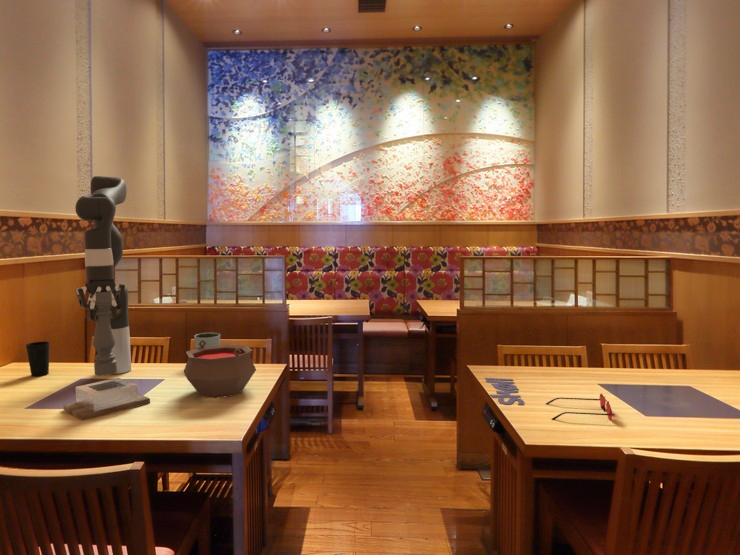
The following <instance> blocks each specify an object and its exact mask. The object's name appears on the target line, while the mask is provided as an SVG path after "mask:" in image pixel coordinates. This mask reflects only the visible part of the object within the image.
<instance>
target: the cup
mask: <svg viewBox="0 0 740 555" xmlns="http://www.w3.org/2000/svg"><path fill="white" fill-rule="evenodd" d="M25 348H26V352H27V358H28V364H29V369H30V374H31V377H33V378H37V377H44V376H45V377H46V376H48V375H49V374H50V373H49V372H50V371H49V370H50V348H51V347H50V341H34V342H29V343H26V344H25ZM47 374H48V375H47Z"/></svg>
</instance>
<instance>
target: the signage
mask: <svg viewBox="0 0 740 555" xmlns="http://www.w3.org/2000/svg"><path fill="white" fill-rule="evenodd" d="M484 379H485V383H487V384H491V386H493V388H494V389H495V392H496V394H489V396H490V397H491V398H492V399H495V398H498V399H497V402H498V403H499V404H500V405H504V406H505V405H506V406H510V405H513V404H514V403H515V402H518V403H517V406H525V401H524V400H523V399H522V396H521V395H520V394H519V393H520V392H519V390H520V389H519V388H518V386H517V385H515V382H514V379H512V378H495V377H494V378H493V377H484ZM514 394H515V395H514ZM516 394H519V395H516ZM505 399H508V400H507V401H505Z"/></svg>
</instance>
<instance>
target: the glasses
mask: <svg viewBox="0 0 740 555" xmlns="http://www.w3.org/2000/svg"><path fill="white" fill-rule="evenodd" d="M557 400H578V401H579V400H580V401H582V400H583V401H599V404H600V409H601V410H602V411H603V412H604V413H595V412H575V411H573V412H572V411H571V412H570V411H565V412H562V413H561V412H560V413H559V414H557V415H556V416H554V417H552V418H551V420H552V421H555V420H556V419H557V418H559V417H561V416H563V415H565V414H571V415H572V414H575V415H591V416H592V415H593V416H594V415H596V416H607V418H608V420H609V421H610V420H612V419H613V417H615V416H616V414H615V413H613V410H612V407H611V404H610V401H608V400H607V399H606V397H605V396H604V394H603V393H600V394H599V398H583V397H582V398H580V397H578V398H577V397H556V398H555V397H554V399H550V400H549V401H548V402H545V405H549V404H551V403H553V402H554V401H557ZM605 412H607V413H605Z"/></svg>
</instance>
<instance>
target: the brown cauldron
mask: <svg viewBox="0 0 740 555" xmlns="http://www.w3.org/2000/svg"><path fill="white" fill-rule="evenodd" d="M202 342H203V343H204V344H203V345H202V344H201V343H202ZM205 344H206V342H205V341H204V340H203V339H202V340H201V342H200V343H199V345H200V346H201V347H200V348H197V349H196V348H194V349H191V350H187V351H185V353H186V355H187V356H188V359H187V361H186V364H185V366H184V369H183V373H184V376H185V378H186V380H187V381H188V382H189V384H191V386H192V387H193V388H194V389H195V391H196V392H197V394H199V396H200V397H202V396H204V398H211V397H213V399H218V398H217V397H219V398H225V397H224V396H227V397H232V396H231V395H233V396H235V395H237V394H239V393H241V392H243V391H244V389H245V387H246V386H247V384H248V383H249V381H250V380H251V379H252V377H253V375H254V374H255V372H256V371H257V369H256V366H255V364H254V362H253V359H251V356H250V355H251V353H252V352H253V349H252V348H250V347H249V346H248V345H243V344H242V345H240V344H229V343H228V344H227V343H225V344H220V345H214V346H205ZM242 390H243V391H242ZM240 391H241V392H240Z"/></svg>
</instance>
